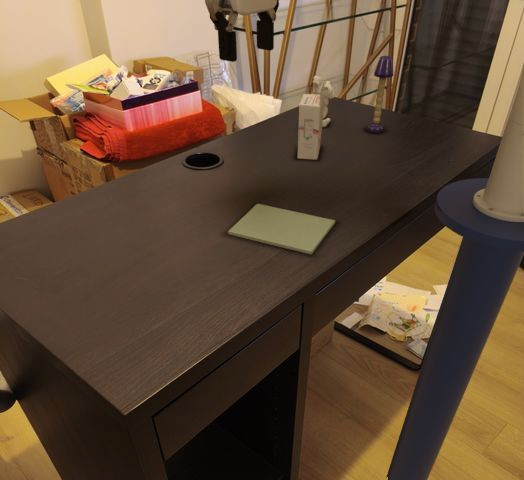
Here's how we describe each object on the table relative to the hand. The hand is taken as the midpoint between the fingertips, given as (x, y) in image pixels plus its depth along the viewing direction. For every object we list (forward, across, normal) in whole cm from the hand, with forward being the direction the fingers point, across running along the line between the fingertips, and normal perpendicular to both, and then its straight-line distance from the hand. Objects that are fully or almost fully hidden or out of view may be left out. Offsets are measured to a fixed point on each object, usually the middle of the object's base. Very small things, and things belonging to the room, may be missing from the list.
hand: (247, 54), depth 79 cm
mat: (+25, -6, -12) cm, 29 cm away
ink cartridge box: (+25, +27, +4) cm, 37 cm away
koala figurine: (+25, +45, +13) cm, 53 cm away
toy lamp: (+25, +51, -1) cm, 57 cm away
